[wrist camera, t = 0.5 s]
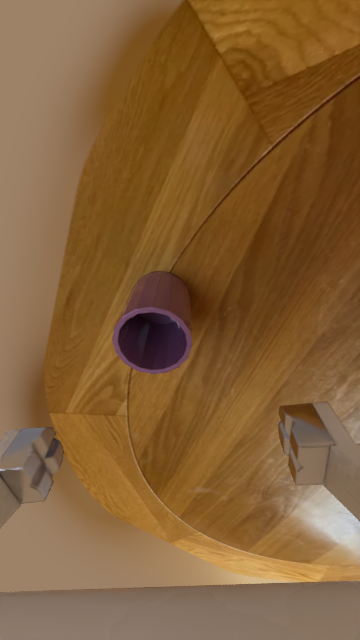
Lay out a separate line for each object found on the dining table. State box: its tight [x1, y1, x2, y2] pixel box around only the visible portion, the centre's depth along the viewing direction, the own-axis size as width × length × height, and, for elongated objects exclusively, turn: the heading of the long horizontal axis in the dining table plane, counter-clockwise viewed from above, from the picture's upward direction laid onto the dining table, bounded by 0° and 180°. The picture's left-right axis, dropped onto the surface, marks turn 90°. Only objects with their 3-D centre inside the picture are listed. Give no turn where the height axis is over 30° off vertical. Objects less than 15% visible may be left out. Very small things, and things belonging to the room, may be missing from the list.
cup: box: [113, 272, 192, 374], centre depth 27 cm, size 7×7×9 cm
